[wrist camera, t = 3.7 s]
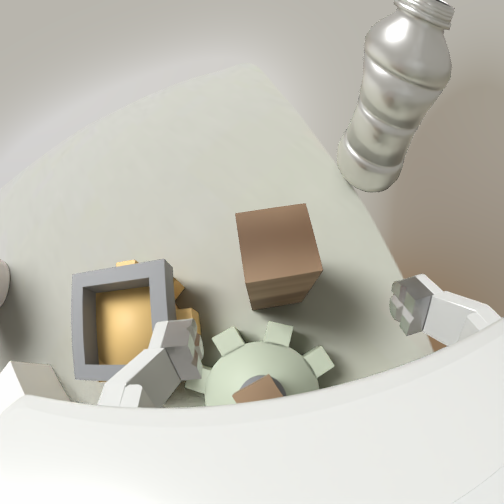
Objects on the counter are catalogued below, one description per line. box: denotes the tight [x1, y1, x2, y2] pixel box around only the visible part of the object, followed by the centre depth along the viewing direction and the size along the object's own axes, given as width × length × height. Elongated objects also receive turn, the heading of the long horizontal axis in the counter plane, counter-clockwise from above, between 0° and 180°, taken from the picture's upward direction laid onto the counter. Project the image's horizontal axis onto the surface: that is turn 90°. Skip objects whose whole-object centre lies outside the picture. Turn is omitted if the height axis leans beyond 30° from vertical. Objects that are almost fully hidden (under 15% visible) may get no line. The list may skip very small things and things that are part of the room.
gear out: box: [71, 259, 201, 382], centre depth 19 cm, size 11×11×4 cm
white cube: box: [0, 361, 71, 415], centre depth 16 cm, size 6×6×6 cm
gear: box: [185, 321, 334, 406], centre depth 17 cm, size 11×11×5 cm
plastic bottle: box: [337, 0, 455, 192], centre depth 17 cm, size 6×7×20 cm
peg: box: [235, 203, 323, 310], centre depth 18 cm, size 4×4×8 cm
